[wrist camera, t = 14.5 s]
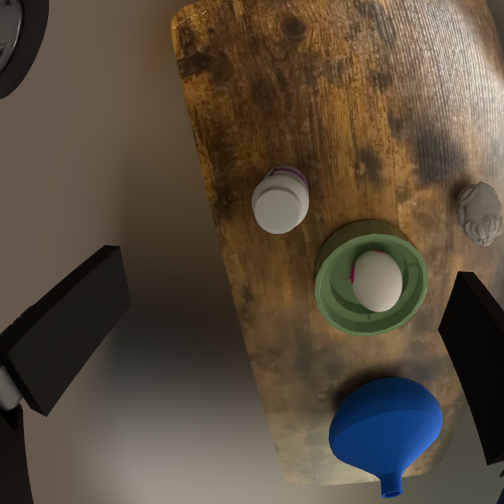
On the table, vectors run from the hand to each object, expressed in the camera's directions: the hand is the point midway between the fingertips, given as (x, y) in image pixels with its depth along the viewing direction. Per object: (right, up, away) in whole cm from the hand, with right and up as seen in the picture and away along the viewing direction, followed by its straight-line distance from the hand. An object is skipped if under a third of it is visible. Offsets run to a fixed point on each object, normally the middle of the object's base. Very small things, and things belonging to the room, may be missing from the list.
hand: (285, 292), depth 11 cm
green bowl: (+13, -1, +26) cm, 29 cm away
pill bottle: (+3, +9, +24) cm, 26 cm away
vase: (+21, -23, +35) cm, 47 cm away
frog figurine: (+25, +8, +20) cm, 33 cm away
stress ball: (+13, -1, +26) cm, 29 cm away
